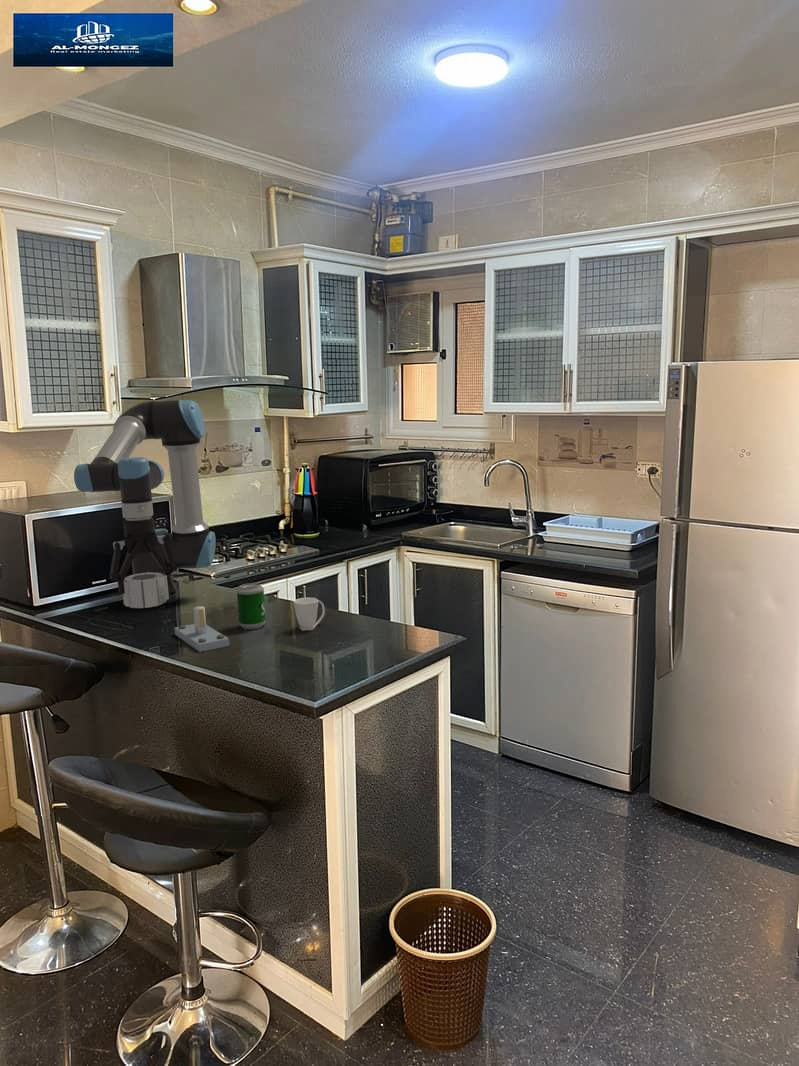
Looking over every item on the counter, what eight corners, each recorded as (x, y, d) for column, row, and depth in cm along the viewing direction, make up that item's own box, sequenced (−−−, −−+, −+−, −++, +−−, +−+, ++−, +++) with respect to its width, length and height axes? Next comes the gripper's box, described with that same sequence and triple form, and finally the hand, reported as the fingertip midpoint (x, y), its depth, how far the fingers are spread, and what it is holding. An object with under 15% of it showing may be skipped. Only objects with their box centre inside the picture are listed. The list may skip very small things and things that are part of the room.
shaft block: (175, 634, 219) (172, 603, 217) (202, 629, 223) (200, 598, 222) (199, 652, 202) (197, 618, 201) (229, 645, 207) (227, 612, 205)
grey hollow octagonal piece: (123, 602, 208) (120, 576, 207) (159, 595, 213) (156, 570, 212) (133, 610, 200) (130, 583, 199) (170, 603, 206) (167, 577, 204)
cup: (289, 629, 220) (287, 601, 219) (316, 621, 228) (315, 594, 226) (305, 633, 216) (304, 604, 214) (333, 625, 223) (331, 597, 221)
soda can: (260, 630, 220) (257, 588, 218) (235, 629, 222) (232, 588, 220) (269, 623, 227) (267, 582, 225) (245, 622, 229) (242, 582, 227)
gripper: (97, 525, 193) (106, 612, 198) (185, 514, 205) (192, 597, 210) (90, 521, 200) (99, 606, 204) (176, 511, 212) (183, 591, 216)
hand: (146, 601), depth 207 cm, fingers closed on grey hollow octagonal piece, 9 cm apart
